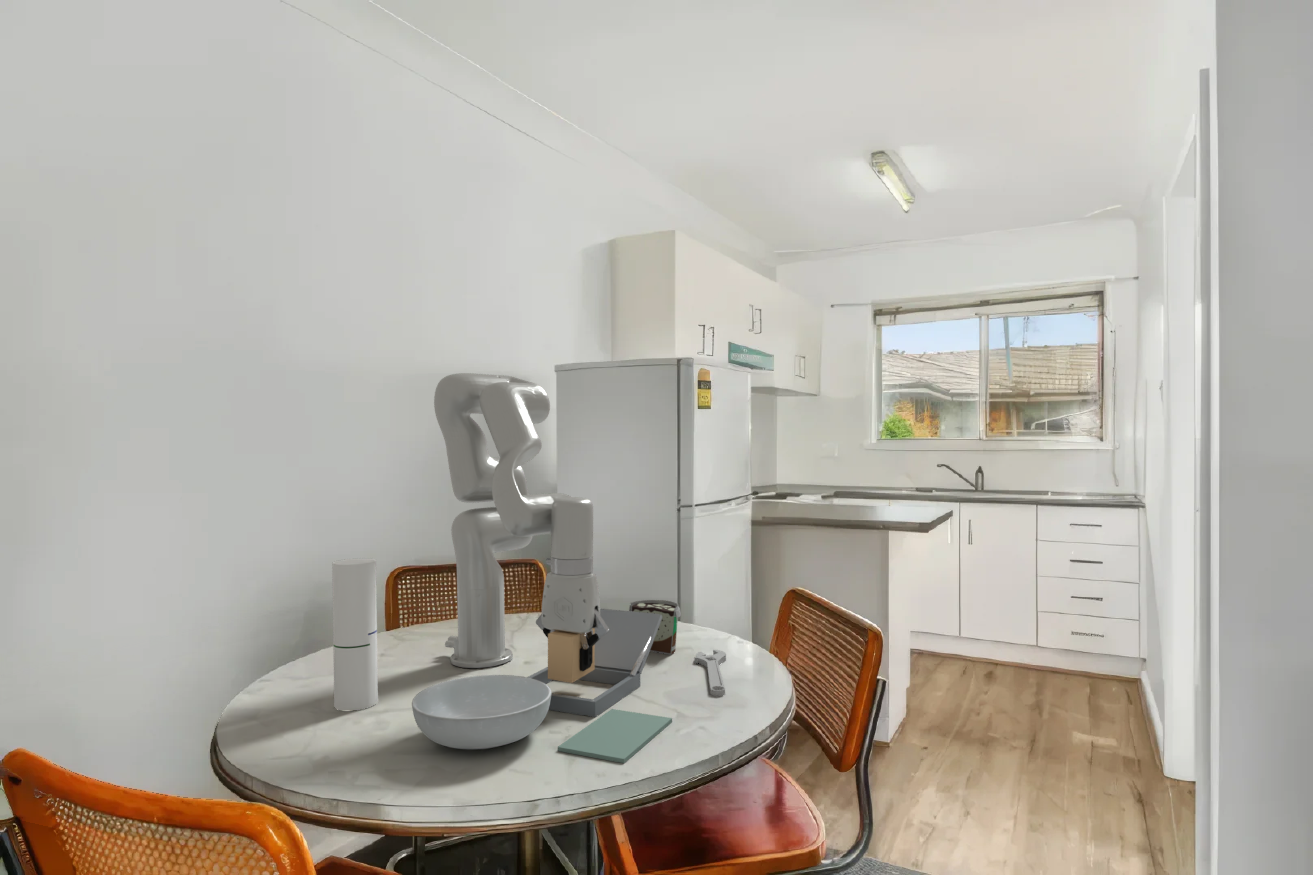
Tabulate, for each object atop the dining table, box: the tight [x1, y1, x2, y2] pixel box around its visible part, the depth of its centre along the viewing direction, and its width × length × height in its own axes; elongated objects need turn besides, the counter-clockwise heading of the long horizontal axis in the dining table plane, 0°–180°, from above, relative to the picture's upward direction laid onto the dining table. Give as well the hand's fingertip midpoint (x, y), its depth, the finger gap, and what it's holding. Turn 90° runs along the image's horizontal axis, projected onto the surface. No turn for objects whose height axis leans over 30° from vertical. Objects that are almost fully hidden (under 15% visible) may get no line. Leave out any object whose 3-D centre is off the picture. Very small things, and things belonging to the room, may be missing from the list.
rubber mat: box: [557, 708, 673, 764], centre depth 118 cm, size 11×17×1 cm, turn 155°
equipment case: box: [527, 608, 662, 718], centre depth 142 cm, size 18×27×11 cm, turn 155°
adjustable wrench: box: [693, 649, 727, 697], centre depth 148 cm, size 25×6×2 cm, turn 175°
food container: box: [628, 599, 682, 656], centre depth 166 cm, size 12×6×10 cm, turn 58°
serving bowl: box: [411, 674, 552, 750], centre depth 118 cm, size 21×21×7 cm
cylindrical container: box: [331, 557, 379, 711], centre depth 134 cm, size 7×7×25 cm
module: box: [547, 628, 595, 684], centre depth 138 cm, size 5×8×8 cm, turn 155°
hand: (571, 665), depth 138 cm, fingers closed on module, 5 cm apart
